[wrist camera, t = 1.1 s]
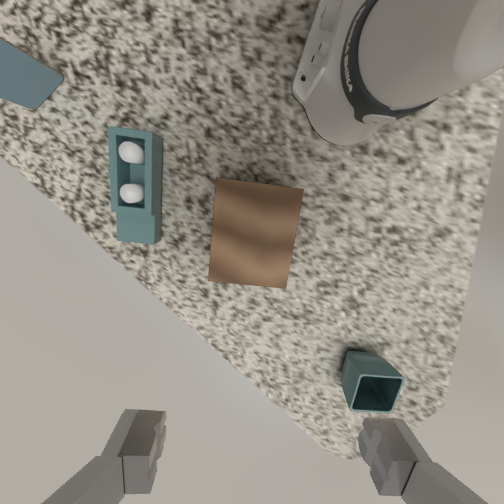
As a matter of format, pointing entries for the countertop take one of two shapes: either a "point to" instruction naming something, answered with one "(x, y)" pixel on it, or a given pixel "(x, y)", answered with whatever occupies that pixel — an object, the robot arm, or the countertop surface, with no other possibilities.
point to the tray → (132, 173)
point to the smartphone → (25, 77)
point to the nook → (253, 233)
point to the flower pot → (370, 383)
